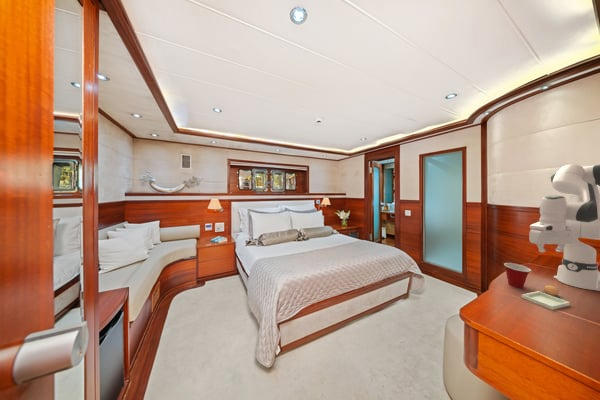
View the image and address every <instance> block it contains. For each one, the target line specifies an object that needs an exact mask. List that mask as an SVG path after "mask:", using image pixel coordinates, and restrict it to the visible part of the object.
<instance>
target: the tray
mask: <svg viewBox="0 0 600 400" xmlns="http://www.w3.org/2000/svg"><path fill="white" fill-rule="evenodd" d="M542 292H543V291H540V290H537V291H532V292H527V293H523V294H521V295H520V296H521V297H520V298H521V299H524V300H526V301H528V302H531V303H533V304H535V305H539V306H541V307H543V308H546V309H547V310H551V311H554V310H558V309H562V308H566V307H571V302H570V301H567V300H564V299H563V298H562V299H559V298H556V297H554V296H551V295H548V294H545V293H542Z"/></svg>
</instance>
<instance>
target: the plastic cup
mask: <svg viewBox="0 0 600 400" xmlns="http://www.w3.org/2000/svg"><path fill="white" fill-rule="evenodd" d="M503 265H504V268H505V273H506V279H507V283H508V285H509V286H511V287H514V288H516V289H517V288H518V289H523V288H524V286H525V284H526V281H527V278H528V275H529V274H530V272H531V271H532V269H530V268H528V267H527V266H524V265H522V264H518V263H513V262H505V263H503Z"/></svg>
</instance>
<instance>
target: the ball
mask: <svg viewBox="0 0 600 400" xmlns="http://www.w3.org/2000/svg"><path fill="white" fill-rule="evenodd" d="M543 291H545V293H547V294H549V295H552V296H556V295H559V292H560V291H559V289H558V288H556V287H555V286H553V285H545V286H544V287H543Z"/></svg>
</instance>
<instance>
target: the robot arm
mask: <svg viewBox="0 0 600 400" xmlns="http://www.w3.org/2000/svg"><path fill="white" fill-rule="evenodd" d="M550 182H551V184H552V188H553V189H554V190H555V191H558V192H559V193H562V194H568V195H569V196H568V202H567V199H566V197H565V196H563V195H547V196H543V197H542V199H541V202H540V205H539V208H538V209H539V211H538V213H539V215H540V216H539V219H538V221H537V222H535V223H532V224H530V225H529V229H530V230H529V234H528V235H529V237H528V238H529V239H528V240H529V243H531V244H535V245H536V246H537V248H538V252H539V253H546V248H544V247H545V245H557V248H555V252H556V253H563V257H562V259H561V264H560V265H558V268H557V273H556V275H553V278H554V279H556V280H557V281H558V282H560V283H562V284H565V285H568V286H571V287H575V288H579V289H585V290H590V291H597V292H600V270H599V266H600V262H597V249H595V248H594V247H593V246H591V245H589V244H586V243H584V242H582V241H580V240H579V238H582V239H589V240H600V189H599V187H600V164H595V165H590V166H587V165H586V166H582V165H579V164H575V163H574V164H573V163H571V164H566V165H562V166H561V168H559V169H558V171H555V172H553V173H552V174H551V175H550ZM598 186H599V187H598Z"/></svg>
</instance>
